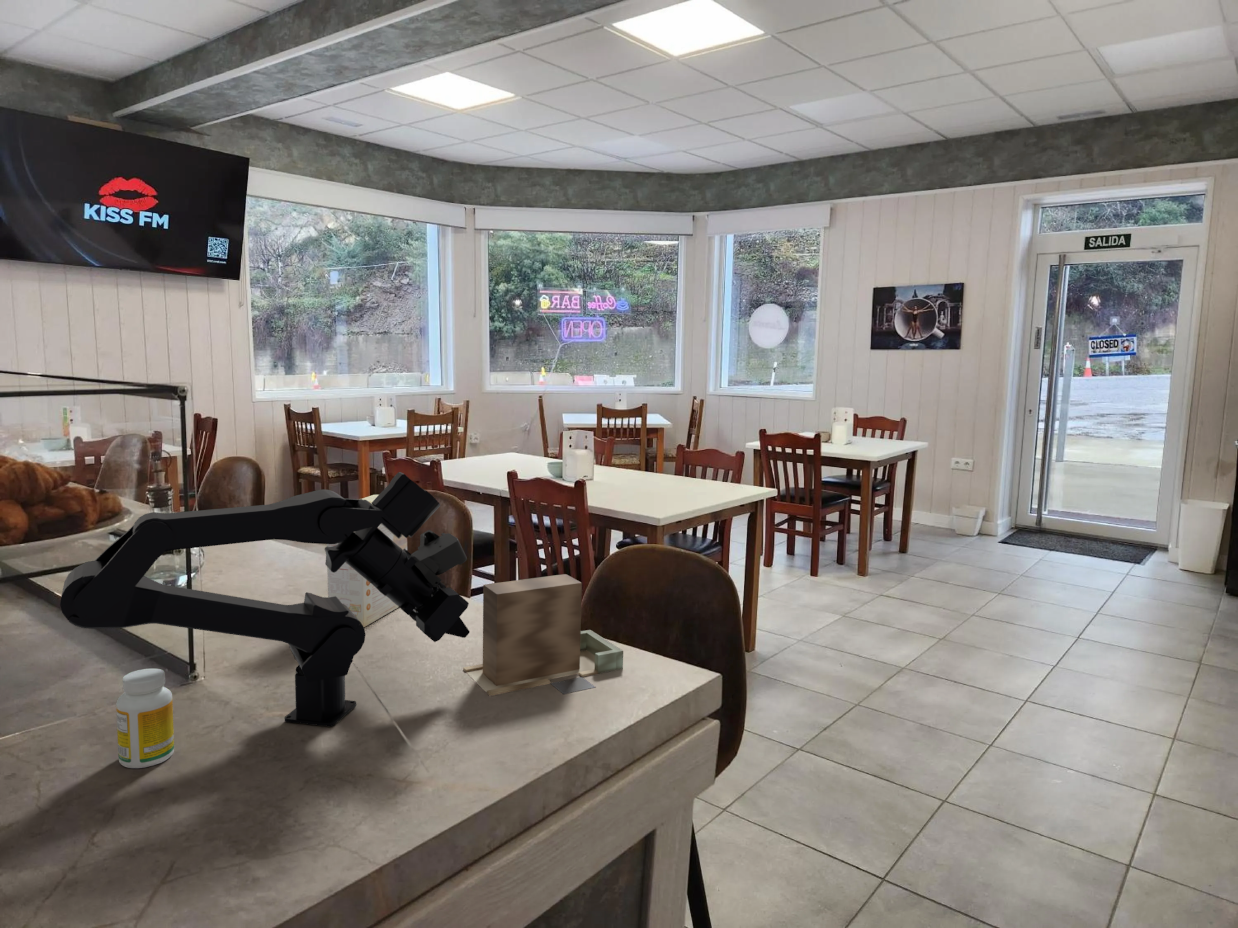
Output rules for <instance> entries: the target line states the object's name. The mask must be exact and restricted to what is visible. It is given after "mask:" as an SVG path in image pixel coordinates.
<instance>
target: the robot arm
mask: <svg viewBox="0 0 1238 928" xmlns="http://www.w3.org/2000/svg"><path fill="white" fill-rule="evenodd" d="M377 495H378V496H377V497H376V499H375V500H374V501H373V502H372V503H370V502H369V501H367V500H362V498H359V499H357V498H344V497H343V496H341V495H340V494H339V493H337V492H335V491H333V490H330V489H323V488H322V489H317V490H314V491H309V492H306V493H305V492H304V493H301V494H297V495H294V496H290V497H289V498H288V497H287V498H285V499H283V500H281V501H277V502H273V503H268V504H261V505H259V504H258V505H247V506H237V507H236V506H235V507H224V508H213V509H203V510H192V511H178V512H176V511H175V512H167V513H165V512H163V513H162V512H153V511H152V512H148V513H144V514H142V515H141V516H140V517H138V519H136V520H135V522H134V524H133V525H131V527H130V528H129V529H128V530H127V531H126V532H124V533H123V534H122V535H121V536H120V537H119V538H117V539H116V540H115V541H114V542H113V543H112V544H110V545H109V546H108V547H107V548H105V550H104V551H102V553H101V554H99V555H98V556H97V558H96V559H95V560H90V561H86V562H84V563H82V564H80V565H79V566H76V567H74V568H73V569H72V571H70V572H68V575H67V576H66V578H65V580H64V581H63V582H64V583H63V587H62V592H61V596H60V603H59V605H60V610H61V612H62V613H61V614H63V616H64V617H65V619H66V620H67V621H68V622H69V623H70V624H72V625H73V626H75V627H78V628H81V629H89V630H90V629H126V628H131V627H137V626H143V625H149V624H150V625H151V624H153V625H155V624H157V625H164V626H171V627H178V628H184V629H185V628H186V629H191V630H192V629H193V630H199V631H204V632H205V631H206V632H207V631H208V632H215V633H220V634H227V635H233V636H234V635H235V636H241V637H247V638H248V637H249V638H256V639H260V640H261V639H263V640H269V641H275V642H276V641H277V642H282V643H286V644H288V645H289V648H290V651H291V654H292V656H293V658H294V659H295V660H296V663H298V665H297V666H296V667H295V673H294V685H295V686H294V690H295V692H294V693H295V695H294V697H295V698H294V699H295V708H294V709H293V710H292V711H290V712H289V713H288V714H286V715H285V716H284V717H283V718H284V723H293V724H304V725H313V726H321V727H333V726H335V725H336V724H338V723H339V721H341V720H342V719H343V718H344V717H346V715H347V714H349V712H351V711H352V710H353V709H354V708H355V707H357V701H356V700H347V699H346V676H347V675H348V672H349V671H350V668H351V666H352V662H353V660H354V657H355V656H356V655H357V654H358V653H359V652H360V651H361V649H362V647H363V645H364V643H365V640H366V630H365V627H363V625H362V624H361V622H360V621H359V620H358V619H357V617H356V616H355V615H354V614H353V613H352V611H351V610H350V609H349V608H348V607H347V606H346V605H344V604H342V603H341V602H340V600H339V599H338V598H337V597H336V596H335V597H329V598H328V596H327V597H325V596H324V597H323V596H320V595H317V594H315V593H311V592H305V593H304V600H303V602H300V603H294V604H282V603H277V602H271V601H265V600H260V599H259V600H258V599H257V600H256V599H251V598H246V597H239V596H233V595H228V594H221V593H217V592H216V593H215V592H210V591H205V590H204V591H203V590H197V589H191V588H185V587H179V586H173V585H168V584H163V583H162V582H161V583H160V582H158V581H157V580H156V581H155V580H154V579H152V578H149V577H147V576H145V575H146V573H147V572H148V571H149V570H150V569H151V568H152V566H153V565H154V564H155V562H156V561H157V560H158V559H159V558H160V557H161V556H162V555H163V554H164V553H166V552H168V551H177V550H185V549H195V548H207V547H215V546H224V545H225V546H226V545H232V544H233V545H234V544H243V543H253V542H263V541H270V540H276V541H277V540H281V541H283V540H284V541H289V542H297V543H303V544H318V545H327V544H337V543H338V544H337V545H336V546H332V547H327V546H325V547H324V552H325V567H326V568H327V567H328V568H329V569H330V570H331V571H332V572H336V571H337V570H338V569H339V568H340V567H341V566H342V565H343V564H344V563H345V562H346V563H347V564H348V565H349V566H351V567H352V568H353V569H354V570H355V571H357V572H358V573H359V574H360V575H361V576H363V577H364V578H365V579H366V580H367V581H369V582H370V583H371V584H372V585H373V586H375V587H376V588H377V589H378V590H379V591H380V592H381V593H382V594H383V595H384V596H387V597H388V598H389V599H390V600H391V601H392V602H394V603H395V604H396V605H397V606H399V607H398V608H399V609H400V610H402V612H404V613H405V614H406V615H407V616H409V617H410V618H411V619H412V620H413V621H414V622H415V626H416V627H417V628H418V629H419V630H420V631H421V632H422V633H423V634H424V635H425V636H427V638H429V639H430V640H431V641H433V642H434V643H436V642H438V641H440V640H441V639H442V638H443V637H444V636H445V635H449V636H454V637H459V638H463V639H464V638H466V637H468V636H469V634H470V629H468V627H467V626H466V624H465V622H464V621H463V620H462V618H461V616H462V615H463V613H464V612H466V611H467V609H468V606H469V602H468V601H467V600H466V599H465V598H464V597H462V596H461V595H460V594H459V593H458V591H457V592H456V590H454V589H453V588H451V587H450V586H449V587H446V585H445V584H444V583H443V582H441V581H442V579H441V578H440V577H439V576H440V575H443V574H444V573H446V572H447V571H449V570H450V569H453V568H454V567H456V566H459V565H460V566H461V565H462V564H464V563H465V562H466V561H467V560H468V558H467V555H466V553H465V551H464V548H463V547H462V544H461V542H460V540H459V539H458V537H456V536H455V535H453V534H452V533H448V532H447V533H444V532H442V533H441V534H440V536H439V534H437V533H435V532H434V531H432V530H431V529H428V530H426V531H424V532H423V533H421V534H420V538H419V539H420V541H419V543H420V544H419V546H417V550H415V551H414V552H412V553H410V551H408V549H407V550H406V549H401V548H400V547H399V546H398V545H397V544H396V543H395V542H393V541H392V540H391V539H390V538H389V537H388V536H387V535H385V534H384V533H383V532H382V531H381V530H380V529H379V528H377V527H378V526H379V525H380V524H382V525H383V526H384V527H385V528H386V529H388V530H389V531H390V532H391V533H392V534H393V535H395V536H396V537H397V538H400V537H401V536H402V535H403V536H404V537H405V538H407V539H408V538H412V537H413V536H414V535H416V533H417V532H418V531H419V529H420V528H421V527H422V526H423V525H424V524H425V523H426V522H427V521H428V520H429V518H431V516H432V515H434V513H435V512H437V510H438V509H439V508H440V507H441V503H440V502H439V501H438V500H437V499H436V498H435V497H434V495H432V494H431V493H430V492H429V491H428V490H426V489H424V488H422V487H421V486H420V485H418V484H417V483H416V482H414V481H413V480H412V479H411V478H410V477H408V476H407V475H406V474H405V473H404V472H401V471H398V472H397V473H396V474H395V475H394V476H393V477H392V479H391V480H390V482H389V484H388V485H387V486H385V488H384V489H382V491H381V492H380V493H379V494H377ZM355 531H356V532H355ZM354 532H355V533H354Z"/></svg>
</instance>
